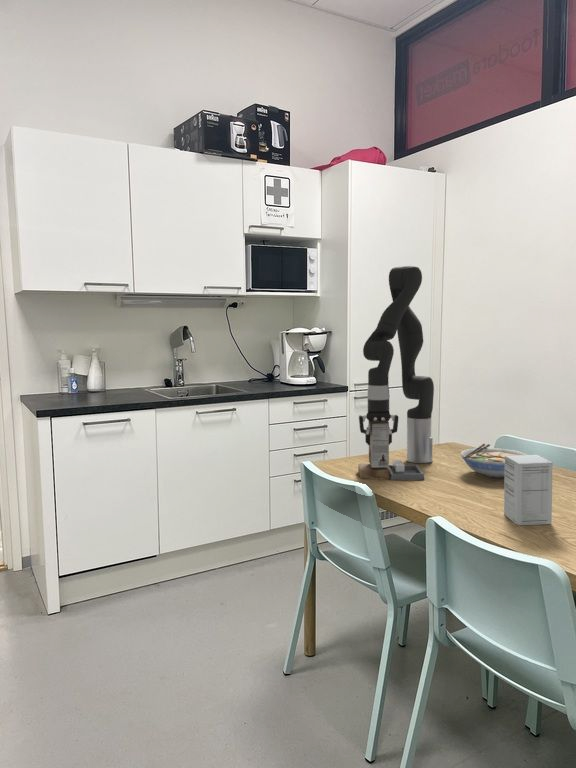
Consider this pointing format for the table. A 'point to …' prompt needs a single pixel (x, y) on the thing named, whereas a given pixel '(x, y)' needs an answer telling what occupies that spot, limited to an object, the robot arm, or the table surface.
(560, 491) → the table surface
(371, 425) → the coffee box
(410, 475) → the charcoal tray
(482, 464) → the ramen bowl
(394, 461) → the chip
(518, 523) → the supplement box
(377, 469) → the brown flat block
